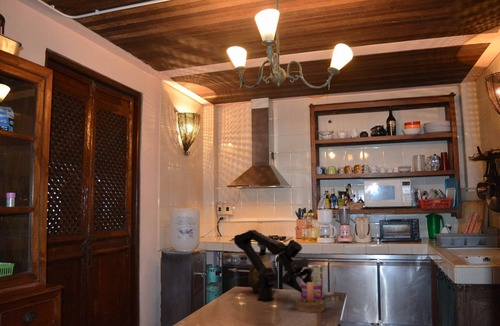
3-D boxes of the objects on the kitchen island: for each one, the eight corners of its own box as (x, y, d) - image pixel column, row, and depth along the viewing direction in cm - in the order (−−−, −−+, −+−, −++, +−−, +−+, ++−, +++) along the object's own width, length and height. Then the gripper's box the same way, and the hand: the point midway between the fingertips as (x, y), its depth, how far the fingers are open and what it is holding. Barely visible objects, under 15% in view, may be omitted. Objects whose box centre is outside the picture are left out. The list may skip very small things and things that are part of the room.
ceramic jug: (273, 296, 209) (272, 238, 212) (245, 294, 213) (244, 238, 216) (278, 289, 226) (277, 236, 229) (252, 288, 229) (251, 236, 232)
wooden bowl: (293, 310, 180) (293, 302, 181) (303, 304, 191) (303, 297, 191) (318, 314, 174) (318, 305, 175) (327, 307, 185) (327, 300, 185)
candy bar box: (323, 297, 206) (322, 265, 208) (322, 299, 201) (321, 266, 203) (302, 295, 209) (301, 264, 211) (300, 297, 205) (300, 265, 206)
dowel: (307, 310, 181) (306, 283, 182) (307, 308, 184) (306, 281, 185) (314, 310, 181) (313, 283, 182) (313, 308, 184) (313, 282, 185)
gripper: (285, 254, 183) (305, 282, 174) (309, 251, 196) (328, 276, 188) (273, 270, 188) (291, 297, 179) (296, 265, 201) (315, 291, 192)
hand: (307, 290), depth 184 cm, fingers open, 9 cm apart
